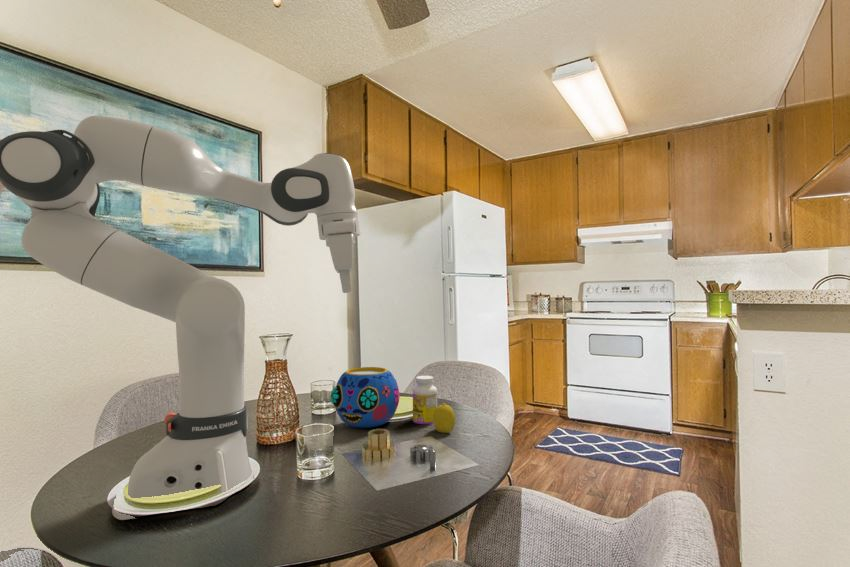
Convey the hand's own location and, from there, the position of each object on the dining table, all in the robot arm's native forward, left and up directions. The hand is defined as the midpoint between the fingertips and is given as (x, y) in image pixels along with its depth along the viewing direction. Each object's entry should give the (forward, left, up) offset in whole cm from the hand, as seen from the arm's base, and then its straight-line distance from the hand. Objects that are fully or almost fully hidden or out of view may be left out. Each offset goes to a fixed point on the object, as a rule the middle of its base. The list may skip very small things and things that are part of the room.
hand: (346, 292), depth 95 cm
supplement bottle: (+25, +12, -36) cm, 46 cm away
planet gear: (+5, -4, -35) cm, 36 cm away
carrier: (+9, -10, -36) cm, 39 cm away
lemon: (+25, +2, -36) cm, 44 cm away
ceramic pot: (+11, +19, -36) cm, 43 cm away
